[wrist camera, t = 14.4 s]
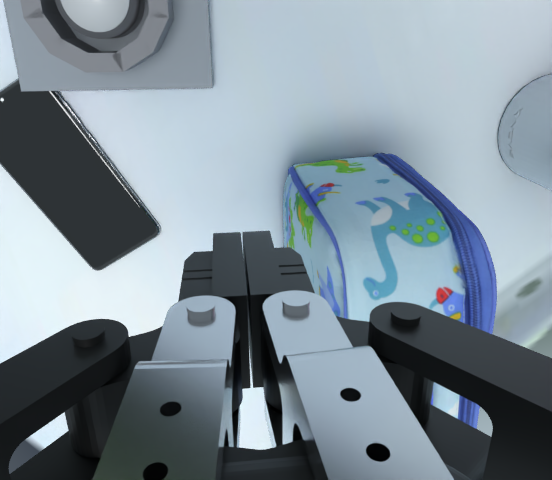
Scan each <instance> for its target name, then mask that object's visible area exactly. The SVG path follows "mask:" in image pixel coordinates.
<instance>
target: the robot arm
mask: <svg viewBox="0 0 552 480" xmlns="http://www.w3.org/2000/svg"><path fill="white" fill-rule="evenodd" d="M498 144H499V150H500V153H501V156H502V158H503V161H504V162H505V163H506V165H507V166H508V167H509V168H510V169H511V170H512V171H513V172H514V173H516V174H518V175H520V176H522V177H524V178H526V179H528V180H530V181H532V182H534V183H537V184H539V185H541V186H543V187H545V188H547V189H549V190H551V191H552V74H550V75H545V76H543V77H540V78H538V79H536V80H534V81H532V82H531V83H529V84H528V85H527V86H525V87H524V88H523V89H522V90H521V91H520V92H519V93H518V94H517V95H516V96H515V97H514V98H513V99H512V101H511V102H510V104H509V105H508V106H507V108H506V110H505V113H504V115H503V117H502V119H501V123H500V127H499V134H498ZM249 348H250V358H251V369H252V379H253V388H255V387H264V401H265V418H266V422H267V426H268V431H269V435H270V440H271V444H272V448H270V449H266V450H255V449H246V448H239V434H240V404H241V402H242V389H244V388H250V364H249ZM434 382H435V383H437V384H439V385H441V386H442V387H444V388H446V389H448V390H450V391H452V392H454V393H456V394H458V395H460V396H462V397H464V398H466V399H468V400H470V401H472V402H474V403H476V404H477V405H479V406H480V407H482V408H483V409H484V410H485V411H486V413H487V414H488V415H489V417H490V419H491V421H492V425H493V432H492V437H490V436H488V435H486V434H484V433H483V432H481V431H479V430H477V429H475V428H474V427H472V426H470V425H468V424H466V423H464V422H463V421H461V420H459V419H457V418H455V417H453V416H452V415H450V414H448V413H446V412H444V411H442V410H441V409H439V408H437V407H435V406H433V405H431V399H432V392H433V385H434ZM64 412H65V416H66V420H67V425H68V430H69V431H68V432H66V433H65V434H64V435H62V436H61V437H60V438H58V439H57V440H56V441H54V442H53V443H51V444H50V445H49V446H47V447H46V448H45V449H43V450H42V451H41V452H39V453H38V454H37V455H35V456H34V457H32V458H31V459H30V460H28V461H27V462H26V463H24V464H23V465H22V466H20V467H19V468H18V469H16V470H15V471H13V472H12V473H11V474H9V469H8V468H9V467H8V466H9V461H10V458H11V456H12V454H13V452H14V451H15V449H16V448H17V447H18V446H19V444H20V443H21V442H22V441H24V440H25V439H26V438H28V437H29V436H30V435H32V434H33V433H35V432H36V431H38V430H39V429H41V428H42V427H43V426H45V425H46V424H48V423H49V422H51V421H52V420H53V419H55V418H56V417H58V416H59V415H61V414H62V413H64ZM0 480H552V358H549V357H547V356H544V355H542V354H540V353H537V352H534V351H532V350H530V349H527V348H525V347H522V346H520V345H517V344H515V343H512V342H510V341H507V340H505V339H502V338H500V337H497V336H495V335H492V334H490V333H488V332H485V331H483V330H480V329H478V328H475V327H473V326H470V325H468V324H465V323H463V322H460V321H458V320H455V319H453V318H450V317H448V316H445V315H443V314H440V313H438V312H435V311H433V310H430V309H428V308H426V307H423V306H420V305H417V304H413V303H407V302H389V303H384V304H381V305H379V306H377V307H375V308H374V309H373V310H372V311H371V313H370V318H369V322H367V321H359V320H351V319H346V318H342V317H338V316H336V315H335V314H334V312H333V311H332V309H331V307H330V305H329V303H328V302H327V301H326V300H325V299H324V298H323V297H321V296H319V295H317V294H315V292H314V289H313V286H312V284H311V281H310V278H309V276H308V274H307V270H306V268H305V266H304V262H303V259H302V257H301V255H300V254H299V253H297V252H296V251H295V250H293V249H292V248H290V247H286V248H274V246H273V242H272V238H271V234H270V231H255V232H243V252H242V242H241V233H240V232H234V233H213V251H206V252H194V253H193V254H192V255H190V256H189V257H188V258H187V259H186V260H185V262H184V269H183V275H182V282H181V288H180V295H179V301H178V302H177V303H176V304H174V305H173V306H172V307H171V308H170V309H169V310H168V312H167V315H166V318H165V321H164V324H163V326H162V327H160V328H158V329H156V330H153V331H150V332H147V333H143V334H139V335H135V336H131V337H129V336H128V330H127V328H126V327H125V326H124V325H123V324H122V323H120V322H118V321H114V320H109V319H95V320H88V321H83V322H80V323H77V324H74V325H71V326H69V327H67V328H65V329H63V330H61V331H60V332H58V333H56V334H54V335H52V336H50V337H49V338H47V339H45V340H43V341H41V342H39V343H38V344H36V345H34V346H32V347H30V348H28V349H27V350H25V351H23V352H21V353H19V354H17V355H15V356H14V357H12V358H10V359H8V360H6V361H4V362H3V363H1V364H0Z"/></svg>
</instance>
